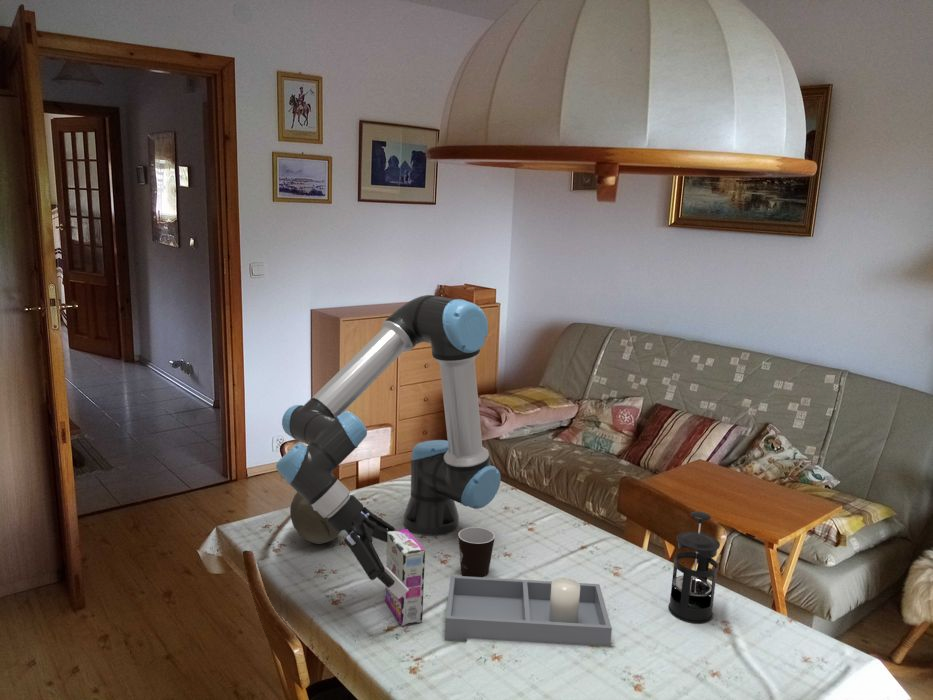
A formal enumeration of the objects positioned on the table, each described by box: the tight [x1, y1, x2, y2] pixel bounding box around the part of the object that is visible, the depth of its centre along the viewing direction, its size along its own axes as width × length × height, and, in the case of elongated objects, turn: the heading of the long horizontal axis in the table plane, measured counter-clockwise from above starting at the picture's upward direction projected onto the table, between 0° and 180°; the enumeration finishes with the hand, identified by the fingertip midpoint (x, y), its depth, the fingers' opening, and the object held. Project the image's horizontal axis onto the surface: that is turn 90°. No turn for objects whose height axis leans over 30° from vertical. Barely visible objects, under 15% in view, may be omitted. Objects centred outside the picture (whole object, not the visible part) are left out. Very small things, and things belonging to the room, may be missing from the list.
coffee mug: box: [457, 526, 496, 578], centre depth 169 cm, size 12×9×10 cm
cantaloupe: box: [289, 491, 341, 545], centre depth 181 cm, size 14×14×15 cm
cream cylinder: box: [549, 577, 580, 623], centre depth 149 cm, size 6×6×8 cm
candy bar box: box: [384, 528, 426, 627], centre depth 150 cm, size 11×5×16 cm, turn 25°
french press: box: [667, 511, 721, 625], centre depth 155 cm, size 12×9×23 cm
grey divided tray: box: [444, 575, 613, 648], centre depth 150 cm, size 17×33×5 cm, turn 88°
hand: (408, 577), depth 150 cm, fingers open, 13 cm apart
